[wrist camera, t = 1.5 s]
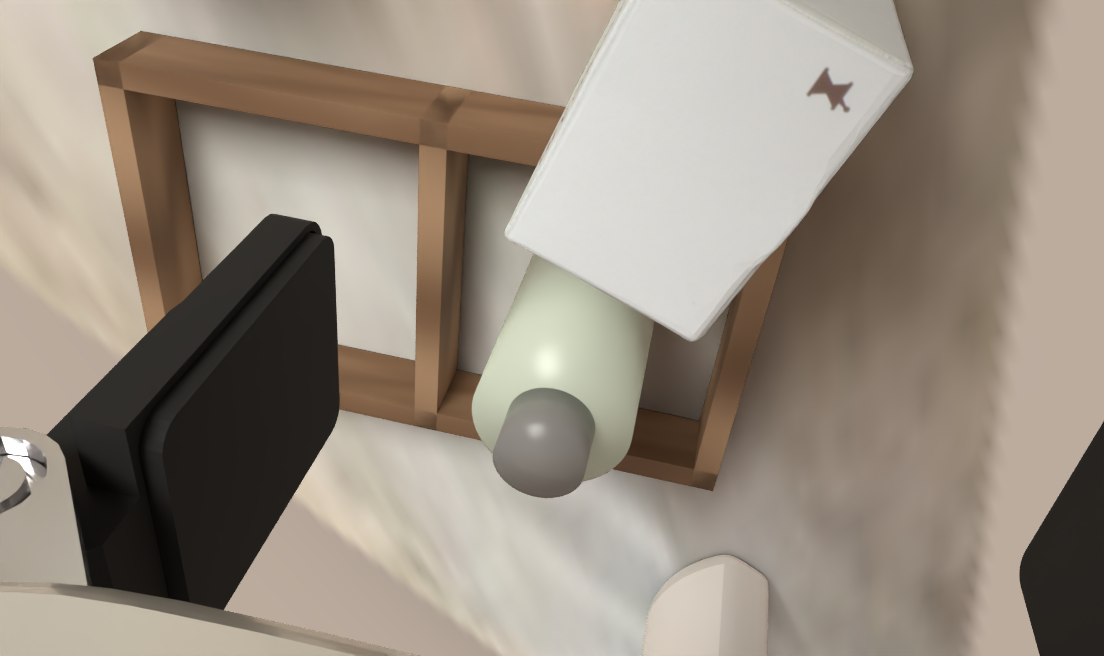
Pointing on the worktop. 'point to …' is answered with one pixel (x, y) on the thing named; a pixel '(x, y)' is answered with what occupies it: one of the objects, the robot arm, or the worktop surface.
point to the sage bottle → (561, 383)
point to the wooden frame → (444, 144)
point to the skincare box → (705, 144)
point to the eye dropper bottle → (710, 611)
